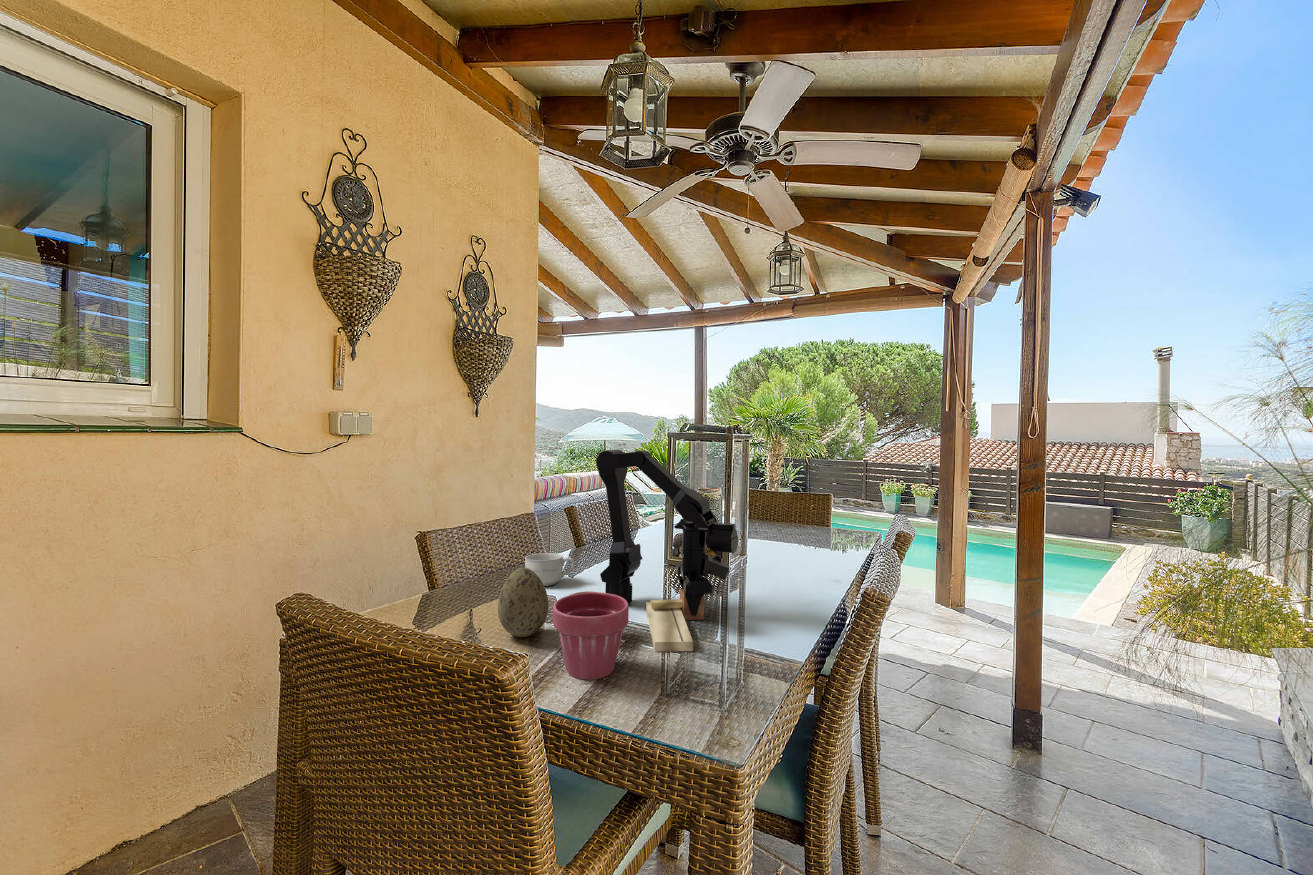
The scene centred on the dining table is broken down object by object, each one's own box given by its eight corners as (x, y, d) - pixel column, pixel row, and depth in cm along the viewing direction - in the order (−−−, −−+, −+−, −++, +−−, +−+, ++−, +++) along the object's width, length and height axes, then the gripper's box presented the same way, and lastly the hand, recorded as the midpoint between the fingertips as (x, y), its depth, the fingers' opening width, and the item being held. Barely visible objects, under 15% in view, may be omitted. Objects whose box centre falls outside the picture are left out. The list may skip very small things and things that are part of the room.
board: (654, 651, 118) (654, 641, 118) (645, 609, 143) (646, 601, 143) (692, 651, 119) (693, 641, 119) (677, 609, 144) (677, 601, 144)
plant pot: (562, 692, 100) (563, 620, 100) (544, 660, 113) (545, 596, 113) (638, 679, 106) (639, 610, 105) (613, 649, 119) (614, 588, 118)
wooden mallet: (652, 621, 135) (652, 596, 135) (649, 613, 140) (649, 589, 140) (703, 619, 137) (704, 594, 137) (699, 612, 142) (699, 588, 142)
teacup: (518, 587, 159) (518, 559, 159) (533, 576, 170) (533, 550, 169) (566, 591, 157) (567, 562, 156) (578, 580, 167) (579, 552, 167)
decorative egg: (487, 640, 122) (487, 570, 121) (517, 623, 132) (517, 559, 131) (529, 649, 118) (530, 577, 117) (557, 631, 128) (558, 564, 127)
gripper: (735, 557, 130) (733, 625, 131) (719, 539, 149) (717, 599, 149) (686, 557, 129) (684, 626, 130) (676, 539, 148) (675, 599, 148)
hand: (692, 611), depth 139 cm, fingers closed on wooden mallet, 5 cm apart
